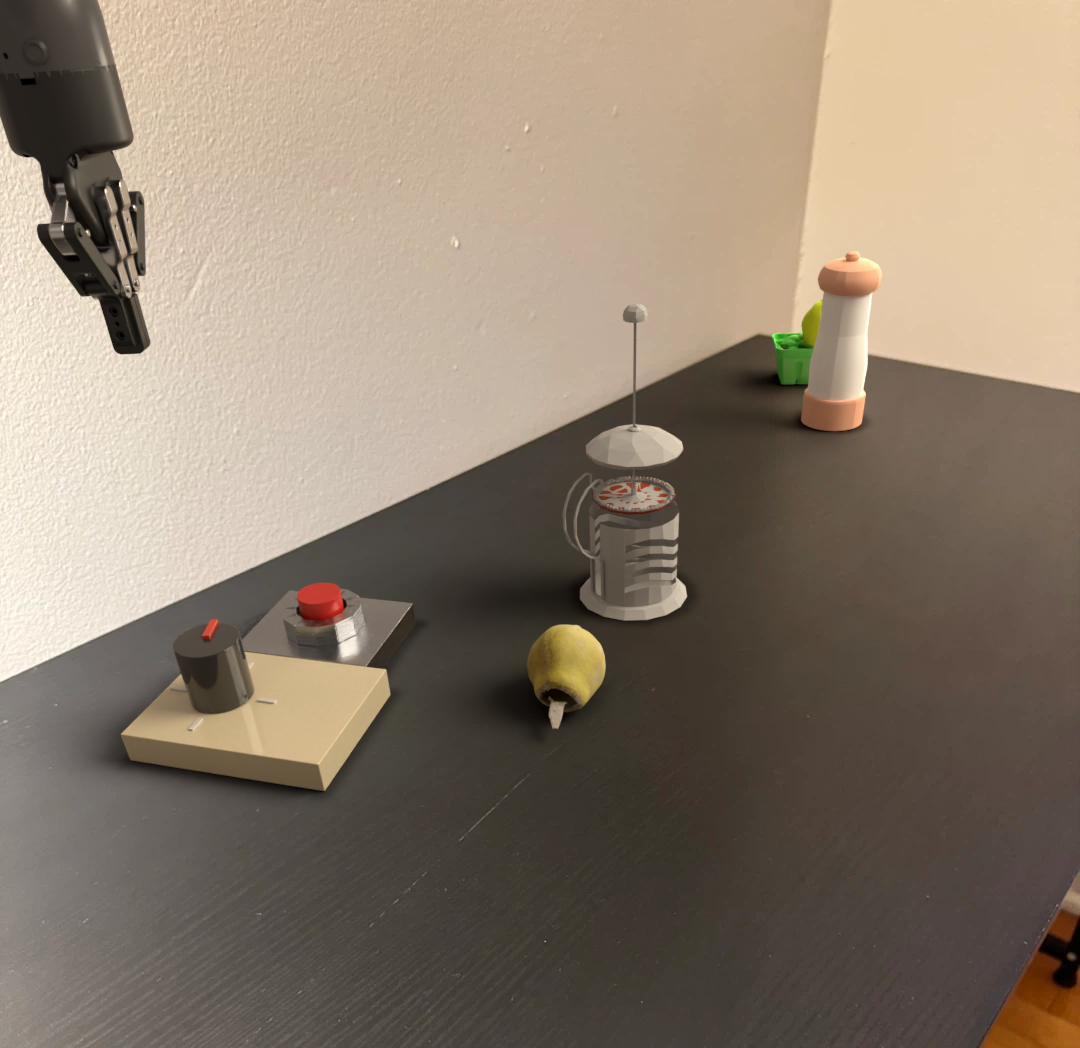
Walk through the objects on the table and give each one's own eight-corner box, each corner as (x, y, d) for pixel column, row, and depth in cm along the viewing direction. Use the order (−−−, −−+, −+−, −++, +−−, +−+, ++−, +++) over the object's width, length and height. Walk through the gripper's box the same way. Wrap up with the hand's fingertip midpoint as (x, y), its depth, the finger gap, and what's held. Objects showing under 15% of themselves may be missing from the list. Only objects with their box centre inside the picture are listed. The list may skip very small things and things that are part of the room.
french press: (709, 598, 88) (728, 304, 73) (602, 639, 83) (598, 334, 68) (644, 557, 95) (648, 280, 80) (542, 592, 90) (526, 306, 75)
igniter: (238, 671, 82) (227, 630, 80) (294, 611, 90) (285, 572, 87) (370, 688, 79) (362, 646, 77) (416, 624, 87) (410, 584, 84)
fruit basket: (851, 369, 136) (863, 282, 129) (861, 390, 129) (875, 299, 122) (767, 370, 137) (775, 284, 130) (773, 391, 130) (782, 302, 123)
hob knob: (245, 712, 73) (228, 652, 69) (182, 714, 73) (162, 655, 70) (261, 676, 77) (245, 617, 73) (200, 678, 77) (182, 620, 74)
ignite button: (293, 620, 81) (289, 601, 80) (312, 598, 84) (308, 580, 83) (332, 624, 80) (328, 606, 79) (351, 602, 83) (347, 584, 82)
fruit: (514, 739, 73) (524, 650, 80) (592, 756, 74) (595, 666, 80) (532, 685, 69) (541, 596, 76) (614, 703, 69) (616, 614, 76)
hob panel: (130, 760, 73) (119, 732, 71) (214, 671, 82) (206, 645, 80) (324, 791, 69) (317, 762, 67) (391, 694, 78) (386, 667, 76)
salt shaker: (872, 427, 118) (899, 255, 107) (816, 434, 117) (837, 262, 106) (845, 407, 124) (868, 242, 113) (791, 414, 123) (808, 248, 112)
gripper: (36, 59, 66) (115, 327, 76) (-64, 73, 55) (44, 383, 65) (146, 52, 65) (211, 323, 76) (66, 66, 55) (154, 378, 65)
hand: (133, 350), depth 71 cm, fingers closed
